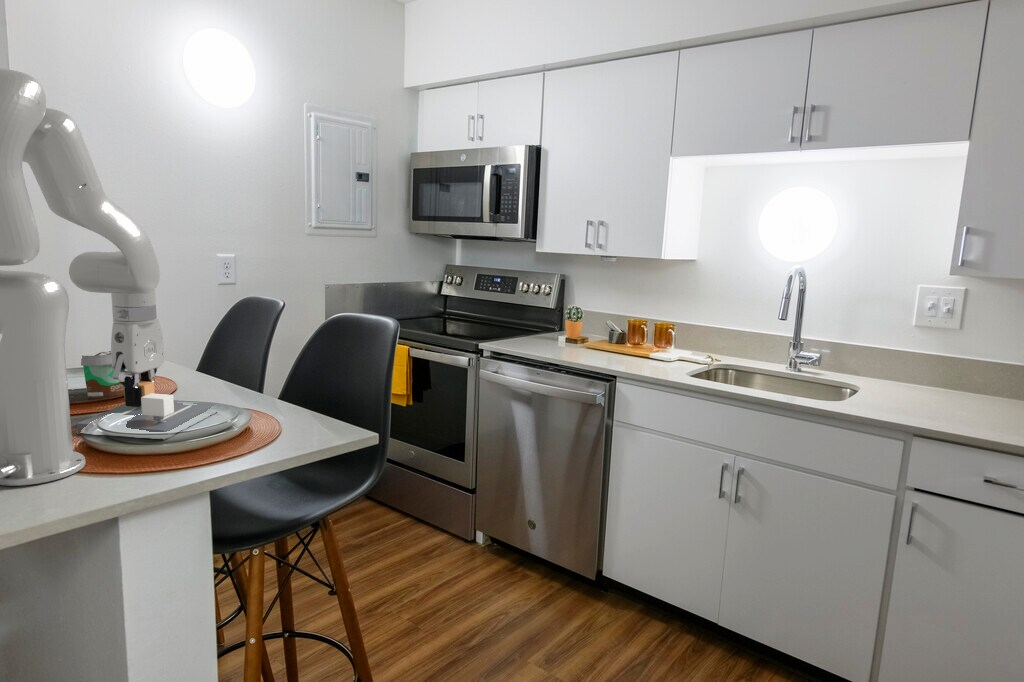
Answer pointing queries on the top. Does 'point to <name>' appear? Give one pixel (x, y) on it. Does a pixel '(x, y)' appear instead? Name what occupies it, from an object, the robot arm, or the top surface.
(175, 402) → the panel
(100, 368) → the food container
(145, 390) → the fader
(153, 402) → the fader
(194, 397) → the top surface
